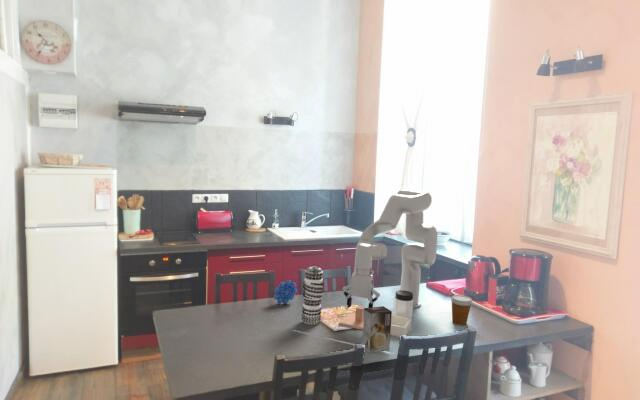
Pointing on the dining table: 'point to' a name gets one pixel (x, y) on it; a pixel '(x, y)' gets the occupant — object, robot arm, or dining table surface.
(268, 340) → the dining table surface
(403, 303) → the jar
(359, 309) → the lid
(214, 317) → the dining table surface
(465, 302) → the disposable coffee cup
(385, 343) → the coffee box
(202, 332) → the dining table surface
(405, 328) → the dish
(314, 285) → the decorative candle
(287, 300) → the grapes
